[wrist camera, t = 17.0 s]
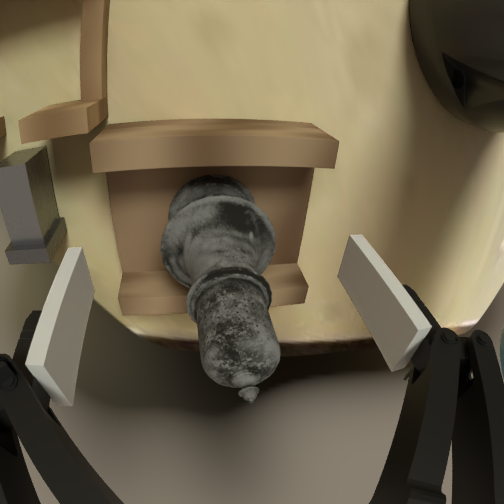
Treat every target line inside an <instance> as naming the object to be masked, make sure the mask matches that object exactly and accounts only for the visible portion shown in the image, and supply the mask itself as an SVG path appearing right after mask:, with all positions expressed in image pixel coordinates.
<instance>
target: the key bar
mask: <svg viewBox="0 0 504 504" xmlns="http://www.w3.org/2000/svg"><path fill="white" fill-rule="evenodd" d="M0 206H1V210H2V213H3V217H4V220H5V224H6V227H7V230H8V233H9V236H10V239H11V243H10V244H9V246H8V247H7V249H6V250H5V253H6V256H7V258H8V261H9V263H10V264H29V263H49V262H51V261H52V259H53V256H54V254H55V252H56V250H57V248H58V246H59V244H60V242H61V240H62V238H63V237H64V235H65V233H66V231H67V229H66V225H65V221H64V217H62V218H59V215H58V210H57V206H56V201H55V197H54V192H53V187H52V181H51V176H50V170H49V164H48V158H47V151H46V146H43V147H38V148H32V149H27V150H22V151H17V152H14V153H12V154H11V155H10V156H8V157H7V158H6V159H4V160H3V161H2V162H1V163H0Z"/></svg>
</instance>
